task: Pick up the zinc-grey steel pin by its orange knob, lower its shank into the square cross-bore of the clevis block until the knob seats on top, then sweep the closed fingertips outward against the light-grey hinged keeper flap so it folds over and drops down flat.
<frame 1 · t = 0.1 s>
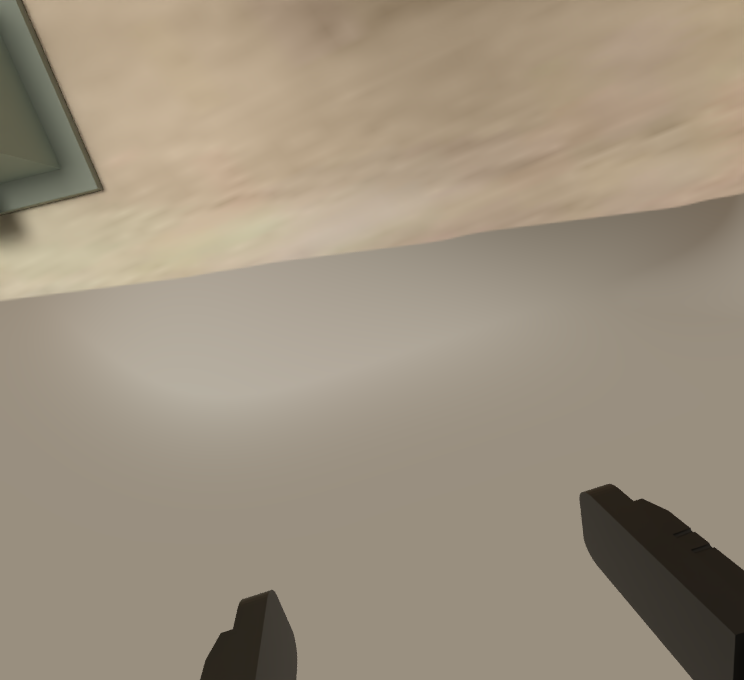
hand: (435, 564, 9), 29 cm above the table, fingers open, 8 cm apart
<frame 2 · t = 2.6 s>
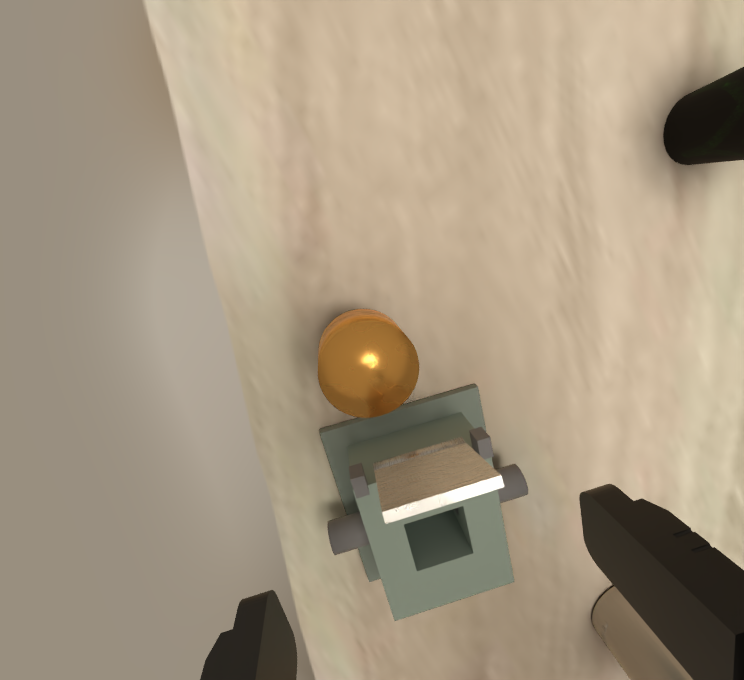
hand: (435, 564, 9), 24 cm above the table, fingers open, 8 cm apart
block: (418, 485, 37), on the table
cup: (691, 129, 32), on the table
keeper: (429, 473, 25), point 10 cm above the table, hinge at 15.0°
pin: (355, 331, 32), on the table
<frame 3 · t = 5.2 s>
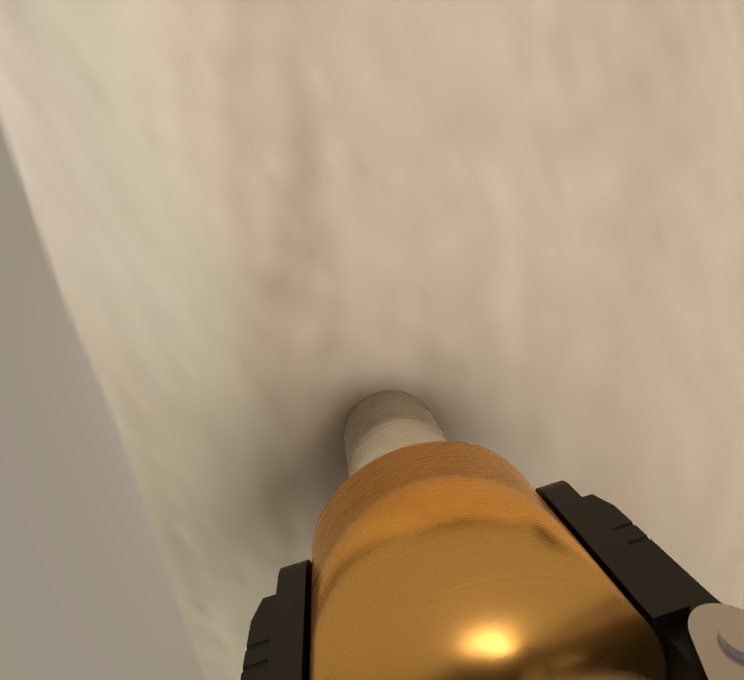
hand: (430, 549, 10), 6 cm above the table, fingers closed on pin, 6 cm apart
pin: (389, 432, 16), on the table, touching gripper
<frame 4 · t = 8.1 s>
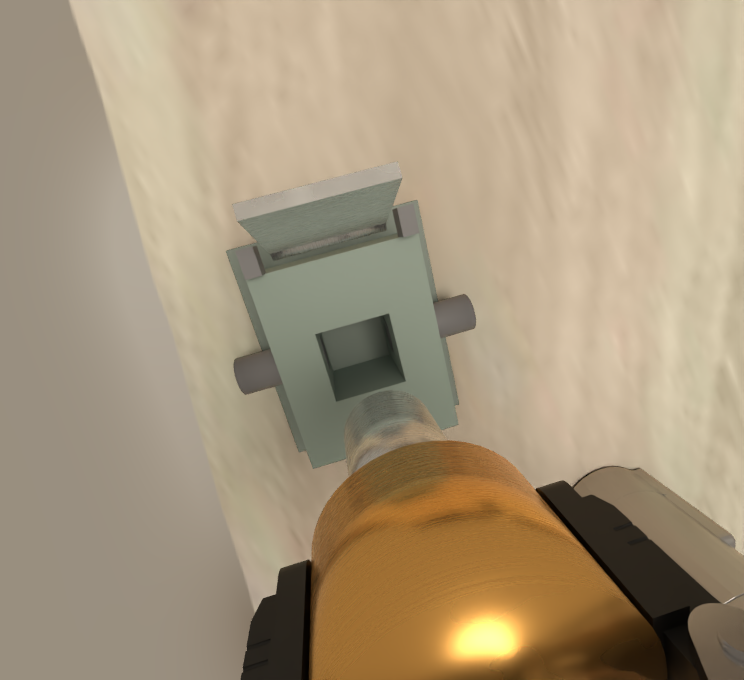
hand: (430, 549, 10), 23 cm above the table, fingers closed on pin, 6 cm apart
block: (353, 332, 32), on the table
keeper: (324, 219, 19), point 10 cm above the table, hinge at 15.0°
pin: (388, 432, 16), point 17 cm above the table, touching gripper
when the fingers open (9 cm above the table, at t = 11.0 s): pin drops 1 cm, resting on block.
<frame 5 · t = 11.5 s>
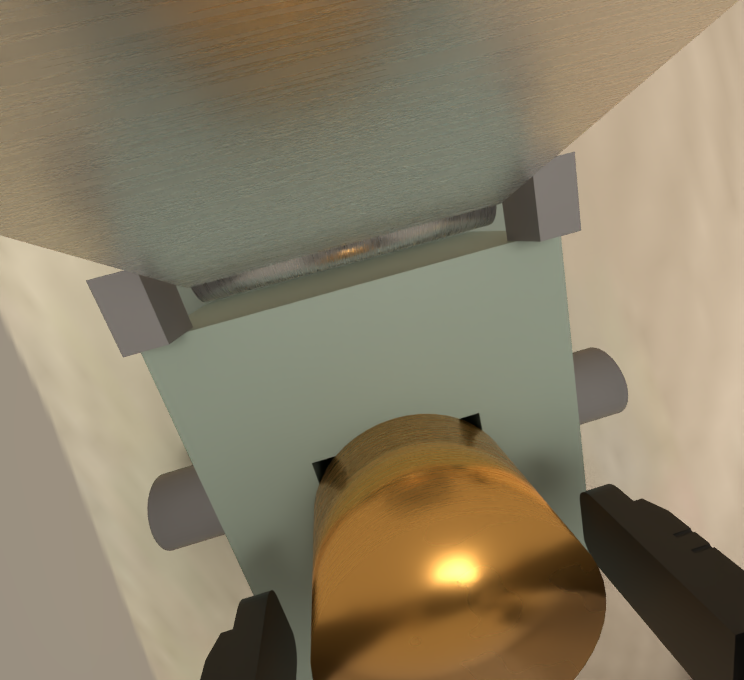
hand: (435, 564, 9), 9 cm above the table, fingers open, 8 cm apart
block: (380, 407, 18), on the table
keeper: (340, 181, 6), point 10 cm above the table, hinge at 15.0°
pin: (384, 416, 17), point 1 cm above the table, touching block
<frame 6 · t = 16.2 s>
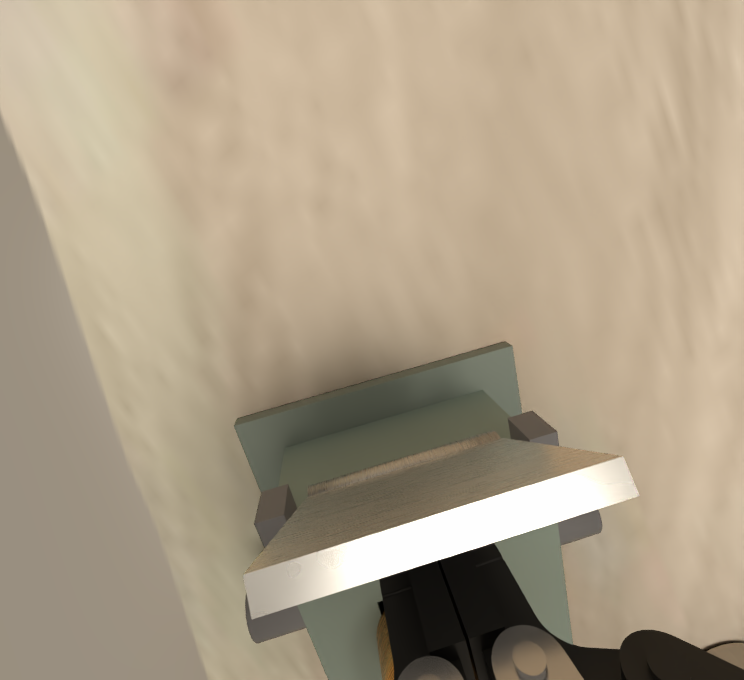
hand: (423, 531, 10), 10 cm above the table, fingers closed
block: (409, 511, 23), on the table
keeper: (418, 491, 10), point 10 cm above the table, hinge at 28.5°
pin: (414, 523, 22), point 1 cm above the table, touching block
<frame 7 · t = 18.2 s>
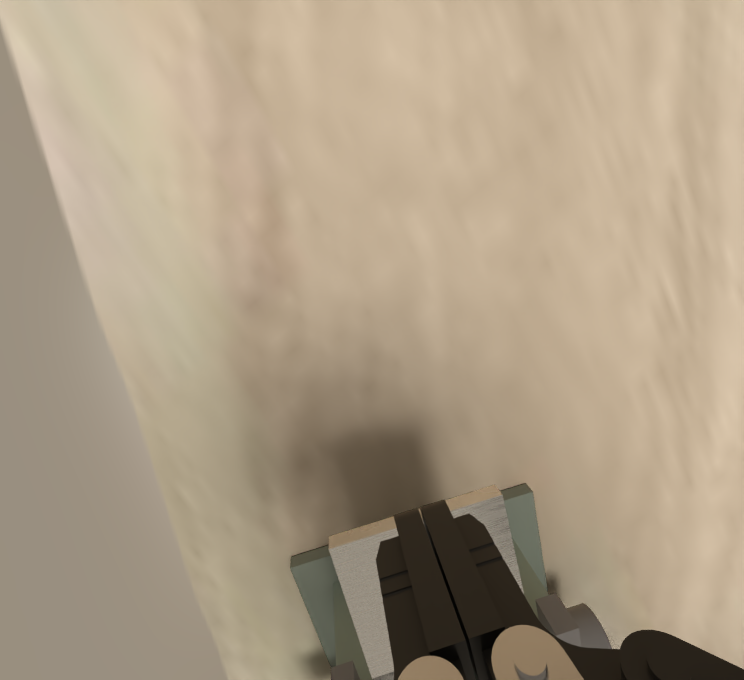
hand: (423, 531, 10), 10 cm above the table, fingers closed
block: (439, 623, 26), on the table
keeper: (436, 595, 16), point 7 cm above the table, hinge at 95.4°
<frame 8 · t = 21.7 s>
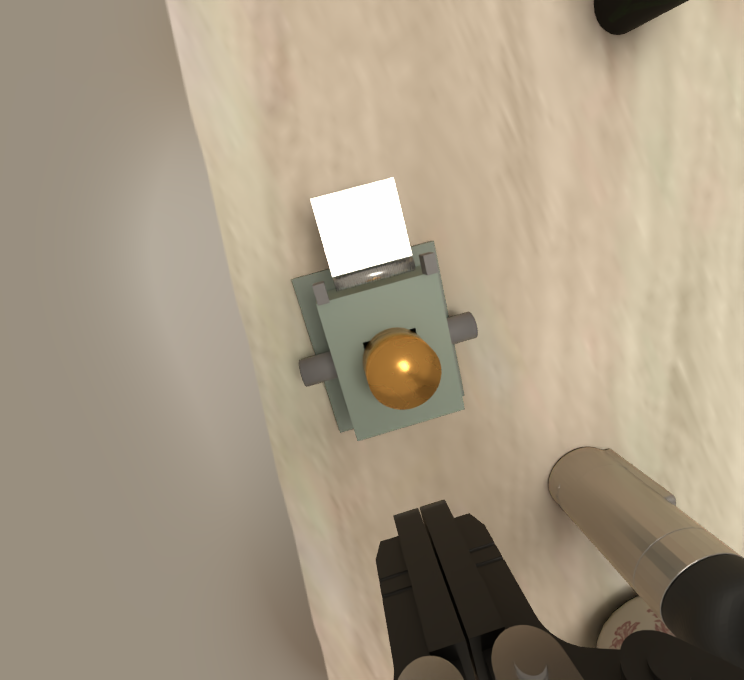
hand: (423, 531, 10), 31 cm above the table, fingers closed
chamber pot: (642, 624, 60), on the table
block: (383, 340, 41), on the table
cup: (619, 1, 36), on the table
keeper: (364, 236, 31), point 7 cm above the table, hinge at 95.4°
pin: (385, 342, 40), point 1 cm above the table, touching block
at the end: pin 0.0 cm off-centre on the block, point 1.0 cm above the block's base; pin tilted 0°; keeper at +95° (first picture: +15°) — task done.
